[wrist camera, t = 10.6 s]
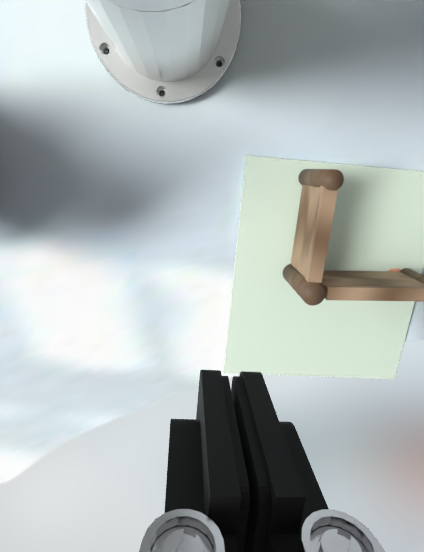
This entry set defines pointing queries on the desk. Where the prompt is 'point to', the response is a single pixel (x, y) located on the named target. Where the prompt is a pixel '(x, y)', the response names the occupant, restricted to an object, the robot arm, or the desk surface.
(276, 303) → the card
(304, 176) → the fence fixed section
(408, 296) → the panel
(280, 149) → the desk surface
